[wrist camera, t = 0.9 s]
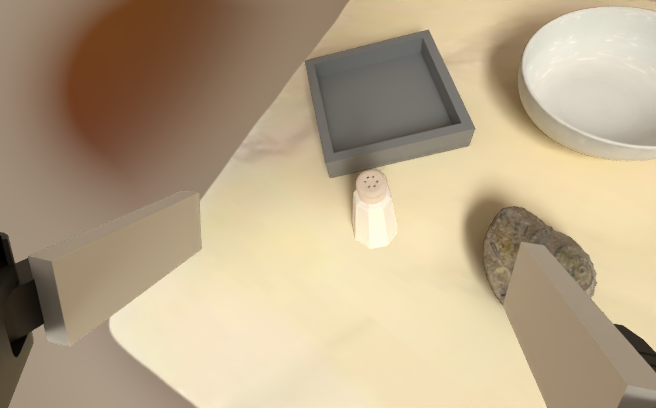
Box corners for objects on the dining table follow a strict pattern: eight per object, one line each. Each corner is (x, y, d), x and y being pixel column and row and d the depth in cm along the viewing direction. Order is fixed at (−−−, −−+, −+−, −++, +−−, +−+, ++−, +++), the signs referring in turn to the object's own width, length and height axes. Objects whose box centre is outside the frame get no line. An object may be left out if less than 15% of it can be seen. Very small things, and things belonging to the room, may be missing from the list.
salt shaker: (407, 233, 39) (414, 188, 30) (368, 258, 39) (362, 220, 29) (380, 198, 42) (379, 146, 32) (343, 221, 41) (329, 175, 31)
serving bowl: (742, 152, 38) (811, 110, 32) (556, 205, 38) (589, 174, 32) (622, 33, 47) (658, -17, 41) (475, 77, 48) (489, 34, 42)
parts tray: (425, 50, 51) (428, 29, 48) (468, 145, 43) (475, 128, 40) (309, 79, 52) (304, 60, 49) (329, 178, 44) (325, 163, 41)
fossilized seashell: (506, 342, 32) (534, 300, 27) (451, 256, 39) (465, 212, 35) (606, 316, 33) (647, 272, 28) (533, 238, 41) (557, 193, 36)
